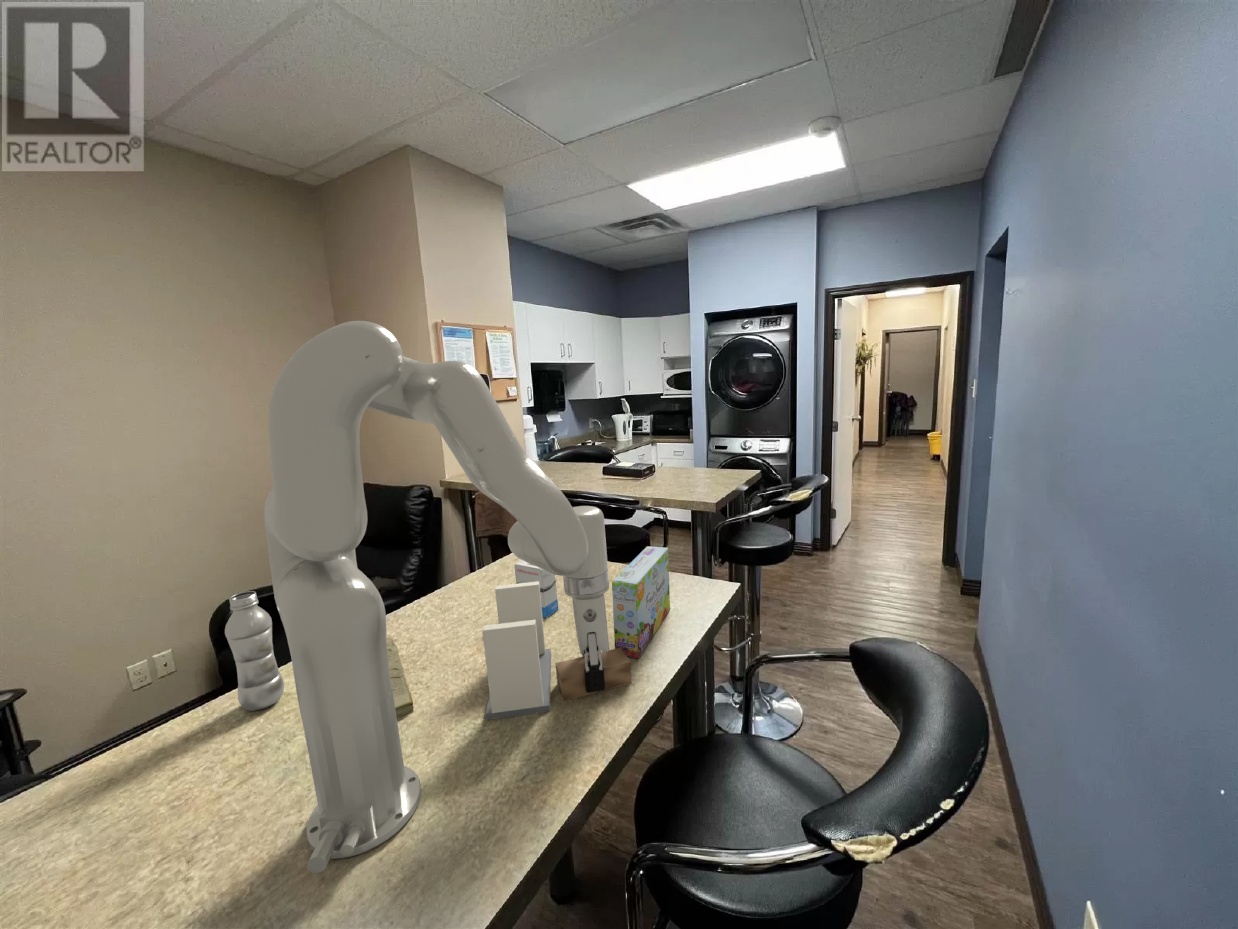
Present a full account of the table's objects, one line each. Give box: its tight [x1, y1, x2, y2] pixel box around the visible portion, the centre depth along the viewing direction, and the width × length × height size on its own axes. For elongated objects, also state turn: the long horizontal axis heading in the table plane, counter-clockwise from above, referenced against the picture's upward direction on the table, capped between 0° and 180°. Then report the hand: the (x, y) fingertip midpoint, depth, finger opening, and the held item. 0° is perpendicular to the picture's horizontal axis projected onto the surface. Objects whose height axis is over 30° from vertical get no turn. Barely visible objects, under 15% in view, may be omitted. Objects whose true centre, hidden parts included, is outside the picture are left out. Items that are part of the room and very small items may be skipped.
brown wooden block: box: [555, 648, 632, 702], centre depth 83 cm, size 12×5×4 cm, turn 109°
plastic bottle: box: [224, 590, 285, 712], centre depth 82 cm, size 6×7×20 cm
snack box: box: [611, 545, 671, 659], centre depth 99 cm, size 21×6×15 cm, turn 158°
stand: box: [482, 581, 552, 721], centre depth 83 cm, size 17×10×15 cm, turn 7°
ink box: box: [513, 560, 559, 619], centre depth 111 cm, size 8×5×12 cm, turn 58°
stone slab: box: [386, 637, 415, 719], centre depth 88 cm, size 12×4×30 cm
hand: (594, 678), depth 83 cm, fingers closed on brown wooden block, 5 cm apart
